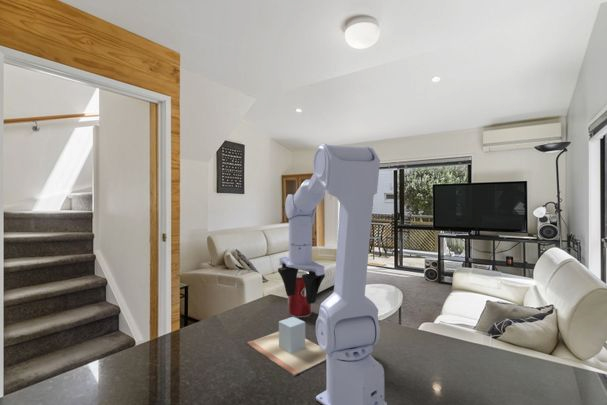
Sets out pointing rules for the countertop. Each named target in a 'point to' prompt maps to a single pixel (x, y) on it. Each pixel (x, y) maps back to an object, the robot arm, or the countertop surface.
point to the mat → (288, 361)
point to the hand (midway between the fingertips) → (300, 298)
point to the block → (292, 334)
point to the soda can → (299, 299)
